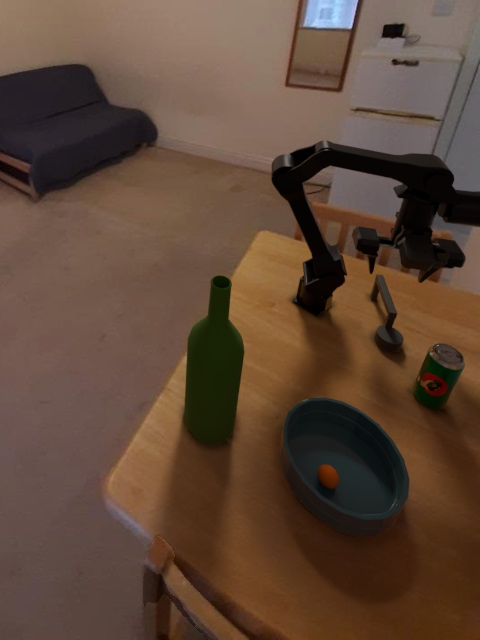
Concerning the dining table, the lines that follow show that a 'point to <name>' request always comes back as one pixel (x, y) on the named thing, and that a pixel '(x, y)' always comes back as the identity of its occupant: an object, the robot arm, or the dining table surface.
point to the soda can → (438, 375)
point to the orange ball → (328, 476)
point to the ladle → (386, 333)
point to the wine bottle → (213, 369)
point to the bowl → (343, 466)
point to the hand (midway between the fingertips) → (394, 277)
